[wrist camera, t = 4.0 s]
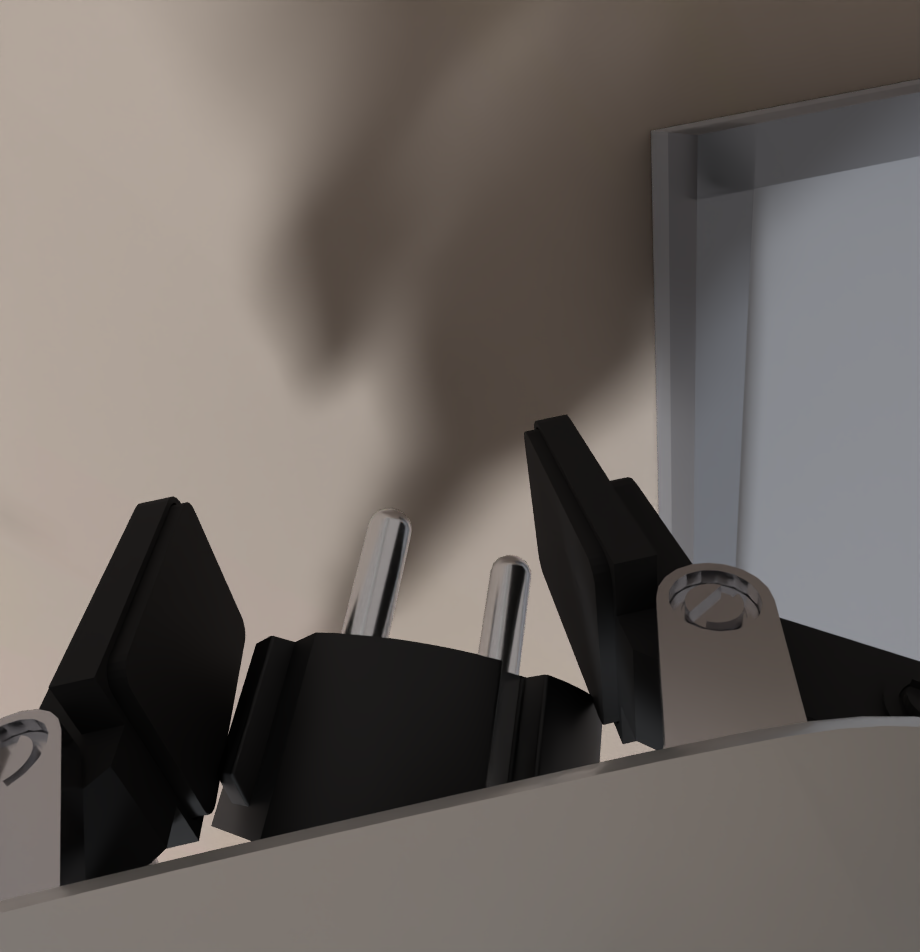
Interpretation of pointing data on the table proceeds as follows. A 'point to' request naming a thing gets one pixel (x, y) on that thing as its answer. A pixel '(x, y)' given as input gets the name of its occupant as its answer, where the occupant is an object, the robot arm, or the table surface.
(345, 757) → the power plug
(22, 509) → the table surface
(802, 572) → the dock
